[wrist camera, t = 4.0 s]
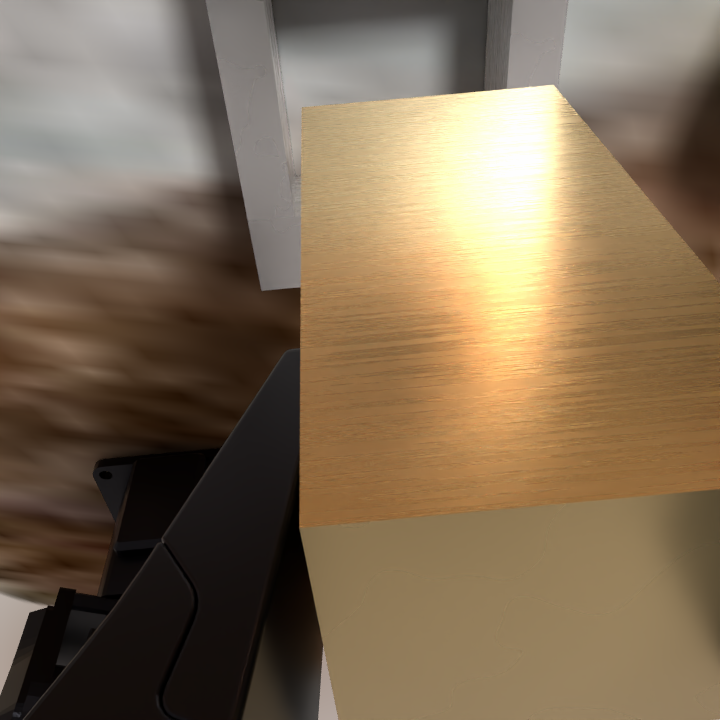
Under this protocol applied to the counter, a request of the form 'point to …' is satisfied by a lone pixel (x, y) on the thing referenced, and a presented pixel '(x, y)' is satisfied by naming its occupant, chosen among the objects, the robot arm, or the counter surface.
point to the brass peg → (504, 419)
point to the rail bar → (269, 117)
